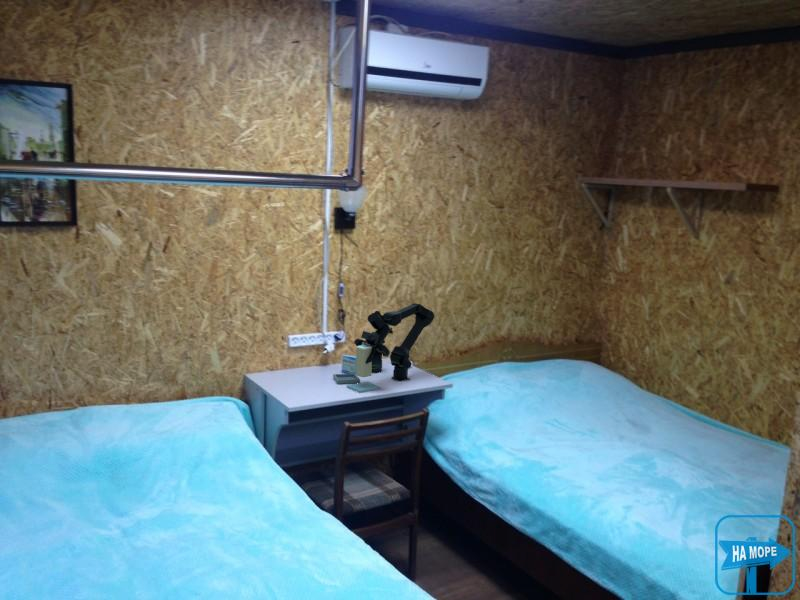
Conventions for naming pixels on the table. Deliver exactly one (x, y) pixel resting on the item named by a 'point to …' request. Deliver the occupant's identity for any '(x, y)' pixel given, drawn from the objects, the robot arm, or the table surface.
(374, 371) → the storage jar
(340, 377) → the charcoal tray
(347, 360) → the medicine box
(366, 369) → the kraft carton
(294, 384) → the table surface
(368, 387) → the slate board
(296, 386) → the table surface
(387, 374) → the table surface
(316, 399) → the table surface
